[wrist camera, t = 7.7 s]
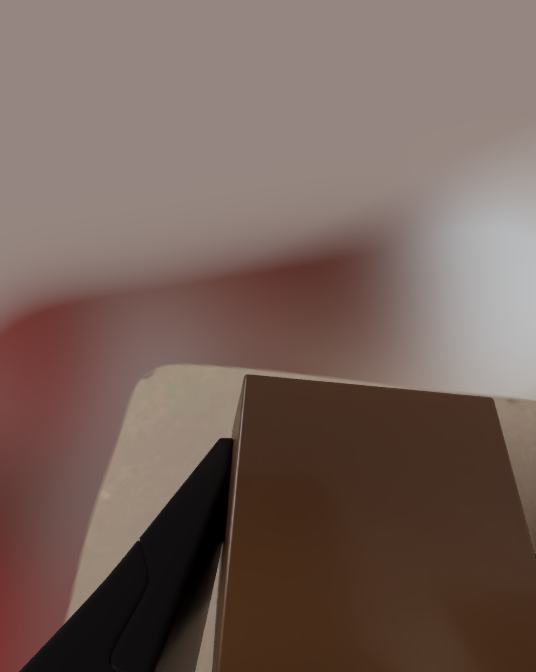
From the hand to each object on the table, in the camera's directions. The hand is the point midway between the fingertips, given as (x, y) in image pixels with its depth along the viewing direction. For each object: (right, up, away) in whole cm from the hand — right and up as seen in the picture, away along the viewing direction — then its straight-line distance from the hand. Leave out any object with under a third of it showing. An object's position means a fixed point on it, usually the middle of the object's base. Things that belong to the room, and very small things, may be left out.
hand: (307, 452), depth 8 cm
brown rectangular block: (-1, -4, +5) cm, 7 cm away
